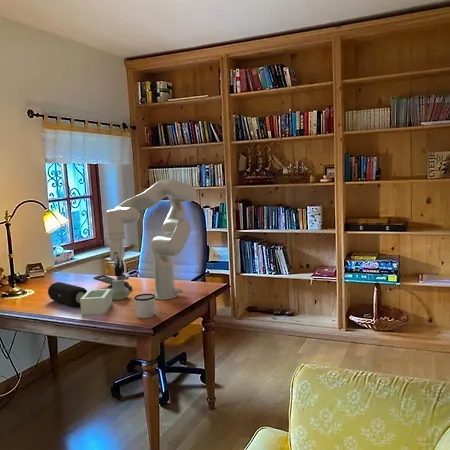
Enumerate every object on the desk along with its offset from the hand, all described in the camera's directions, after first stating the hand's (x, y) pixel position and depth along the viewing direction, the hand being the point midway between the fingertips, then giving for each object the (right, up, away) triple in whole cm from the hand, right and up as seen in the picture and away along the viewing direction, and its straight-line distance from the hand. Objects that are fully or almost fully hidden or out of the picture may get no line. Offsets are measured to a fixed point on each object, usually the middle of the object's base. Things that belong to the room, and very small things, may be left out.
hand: (119, 274), depth 222 cm
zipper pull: (-14, -13, +44) cm, 48 cm away
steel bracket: (+2, -2, 0) cm, 3 cm away
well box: (-12, -18, +6) cm, 22 cm away
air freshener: (-6, -16, +24) cm, 29 cm away
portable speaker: (-30, -17, +19) cm, 40 cm away
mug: (+14, -18, -8) cm, 25 cm away
